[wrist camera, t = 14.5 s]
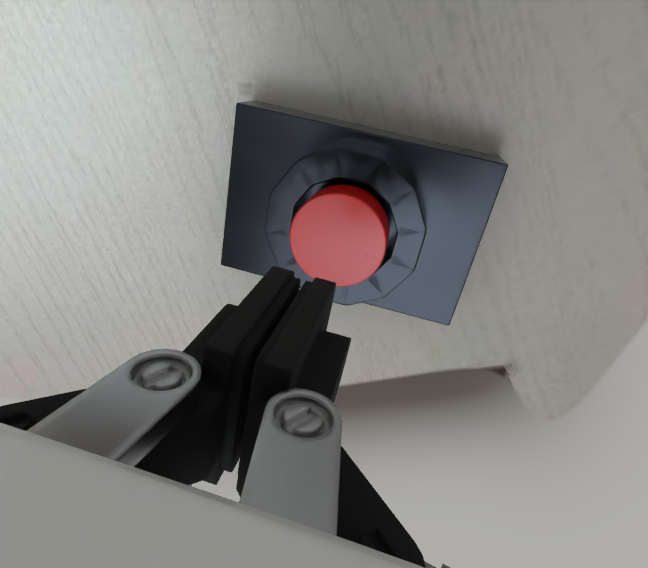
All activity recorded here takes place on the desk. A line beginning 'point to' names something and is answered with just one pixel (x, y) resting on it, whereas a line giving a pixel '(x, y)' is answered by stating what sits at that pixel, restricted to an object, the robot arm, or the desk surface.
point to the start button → (340, 235)
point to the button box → (376, 178)
